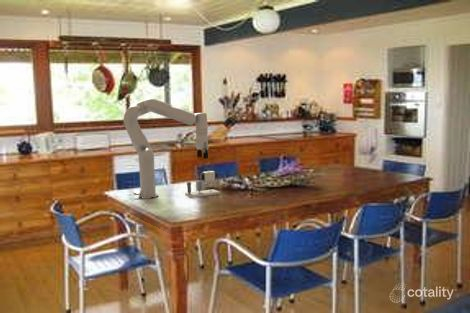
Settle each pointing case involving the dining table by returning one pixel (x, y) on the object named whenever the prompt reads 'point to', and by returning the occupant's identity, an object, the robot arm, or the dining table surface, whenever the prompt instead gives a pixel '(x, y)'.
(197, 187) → the slider leg
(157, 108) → the robot arm
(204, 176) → the pneumatic valve
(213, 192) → the pitch plate
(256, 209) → the dining table surface
